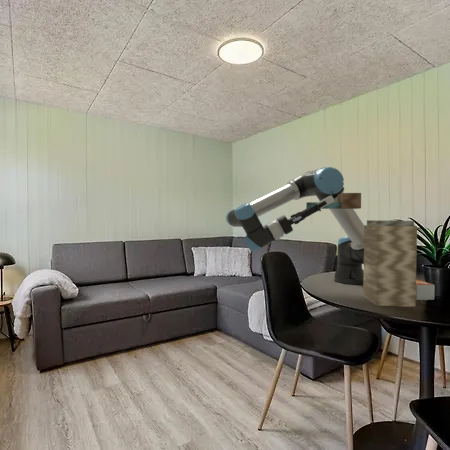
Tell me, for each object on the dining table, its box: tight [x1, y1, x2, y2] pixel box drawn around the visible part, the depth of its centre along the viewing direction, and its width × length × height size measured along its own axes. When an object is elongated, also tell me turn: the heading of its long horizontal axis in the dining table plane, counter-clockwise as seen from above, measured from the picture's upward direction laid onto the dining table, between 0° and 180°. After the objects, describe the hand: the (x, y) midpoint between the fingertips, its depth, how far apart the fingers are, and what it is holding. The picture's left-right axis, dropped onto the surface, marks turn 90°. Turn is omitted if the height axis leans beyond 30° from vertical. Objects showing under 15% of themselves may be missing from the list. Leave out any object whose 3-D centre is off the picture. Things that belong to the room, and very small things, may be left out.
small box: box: [416, 278, 436, 301], centre depth 128 cm, size 8×6×13 cm
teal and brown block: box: [305, 192, 362, 210], centre depth 121 cm, size 20×7×6 cm, turn 84°
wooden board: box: [362, 219, 418, 308], centre depth 120 cm, size 14×14×32 cm
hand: (331, 198), depth 121 cm, fingers closed on teal and brown block, 2 cm apart
